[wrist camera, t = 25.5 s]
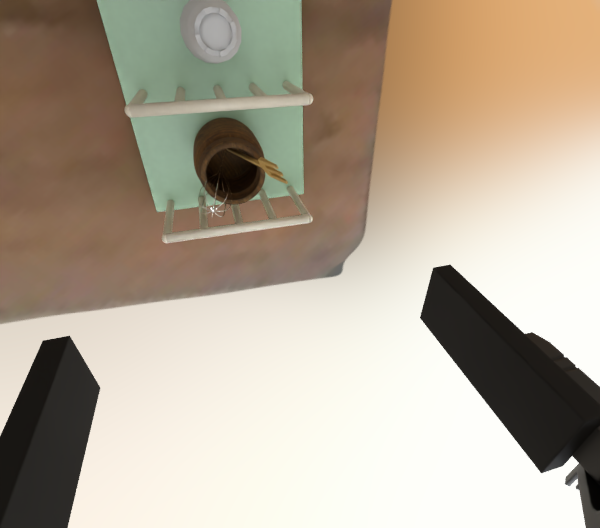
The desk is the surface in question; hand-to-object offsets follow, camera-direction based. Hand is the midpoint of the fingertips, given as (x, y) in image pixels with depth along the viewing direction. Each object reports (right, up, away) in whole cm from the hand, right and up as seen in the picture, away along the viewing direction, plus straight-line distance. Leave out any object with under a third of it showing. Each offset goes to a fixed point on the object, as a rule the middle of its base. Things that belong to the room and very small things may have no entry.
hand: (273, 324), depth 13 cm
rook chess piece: (-6, +21, +14) cm, 26 cm away
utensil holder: (-6, +13, +19) cm, 24 cm away
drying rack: (-6, +17, +17) cm, 25 cm away
